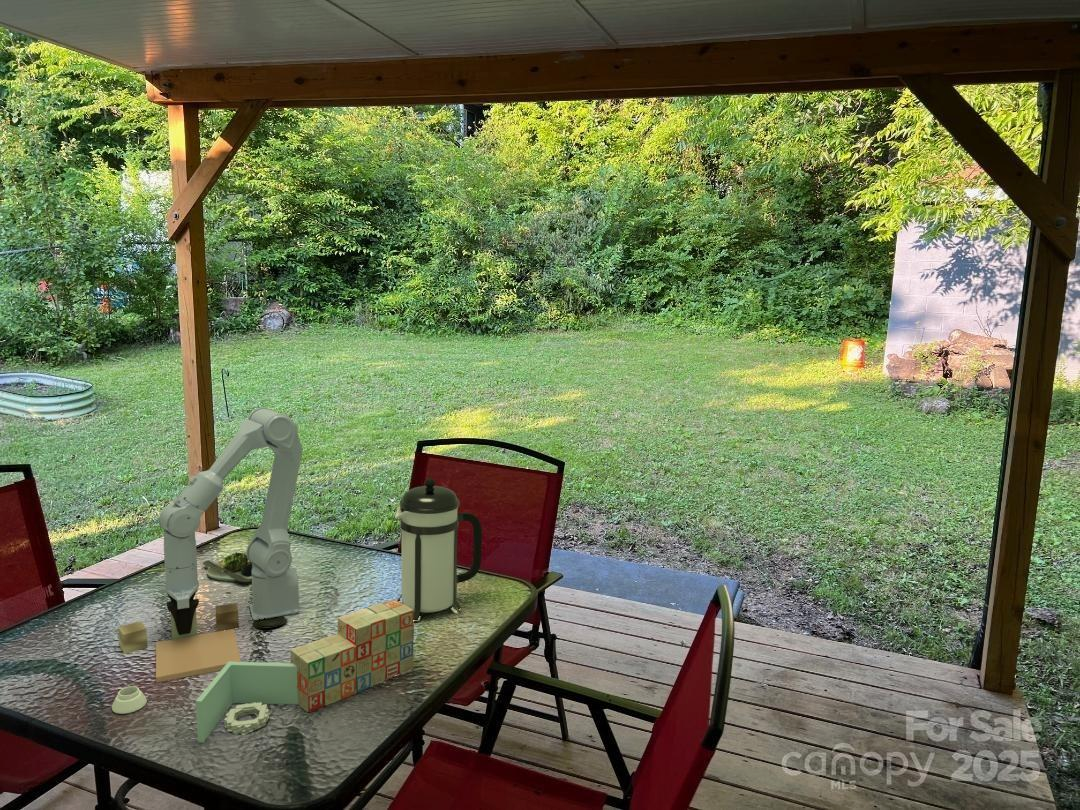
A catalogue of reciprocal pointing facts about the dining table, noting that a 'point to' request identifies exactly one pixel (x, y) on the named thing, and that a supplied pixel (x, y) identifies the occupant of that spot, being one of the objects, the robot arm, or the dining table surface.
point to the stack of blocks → (355, 654)
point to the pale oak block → (132, 637)
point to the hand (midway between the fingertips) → (184, 627)
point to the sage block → (192, 633)
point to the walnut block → (227, 617)
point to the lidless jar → (129, 700)
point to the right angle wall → (245, 695)
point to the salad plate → (231, 568)
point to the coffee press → (433, 548)
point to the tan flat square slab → (195, 655)
